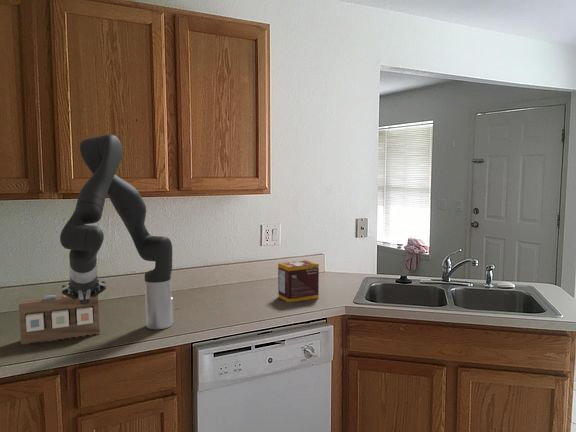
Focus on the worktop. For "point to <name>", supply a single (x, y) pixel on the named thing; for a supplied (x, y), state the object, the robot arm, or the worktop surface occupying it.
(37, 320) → the slate key
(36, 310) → the keypad panel
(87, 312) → the terracotta key
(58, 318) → the sage key
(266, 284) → the worktop surface
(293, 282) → the supplement box
